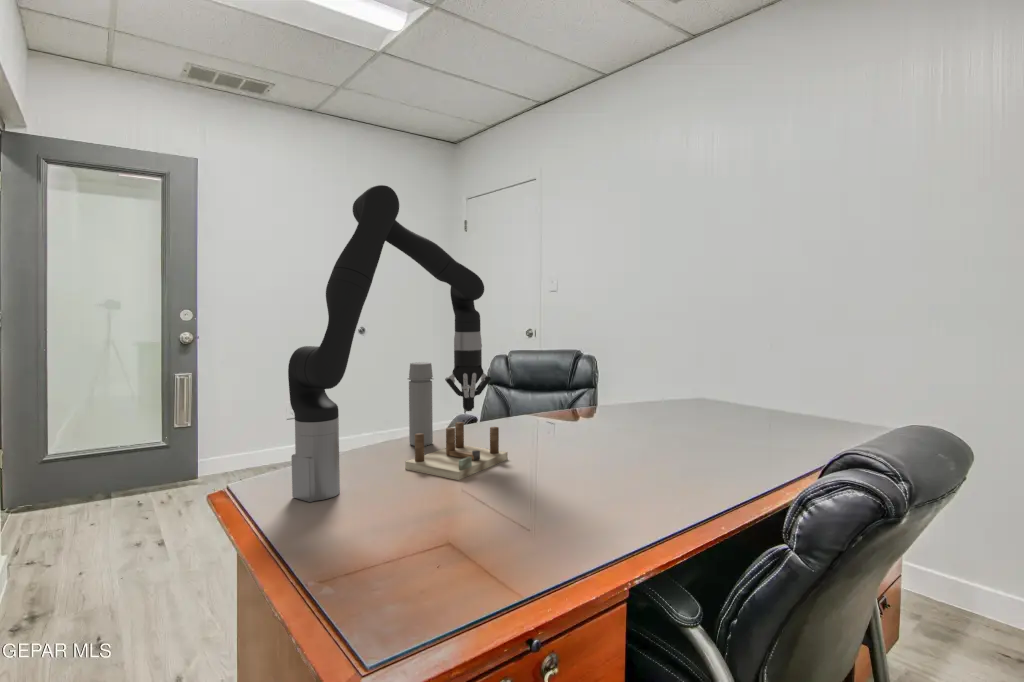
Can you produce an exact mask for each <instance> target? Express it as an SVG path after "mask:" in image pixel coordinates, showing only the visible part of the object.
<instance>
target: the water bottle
mask: <svg viewBox="0 0 1024 682" xmlns="http://www.w3.org/2000/svg"><path fill="white" fill-rule="evenodd" d="M433 377H434V376H433V367H432V363H431V362H429V361H426V362H425V361H421V362H420V361H419V362H410V363H409V371H408V378H407V380H408V410H409V411H408V413H409V415H408V418H409V419H408V422H409V423H408V425H409V430H408V431H409V444H410V445H411V446H414V447H415V434H417V433H423V434H424V447H427V445H428V446H430V445H431V444H432V443H433V440H434V439H433V437H434V436H433V433H434V432H433V380H434V378H433Z"/></svg>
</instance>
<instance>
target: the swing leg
mask: <svg viewBox="0 0 1024 682" xmlns="http://www.w3.org/2000/svg"><path fill="white" fill-rule="evenodd" d="M445 448H446V455H450V456H455V457H461V458H466V457H472V460H479V459H480V451H478V450H474V451H472V452H467V451H462V450H456V449H455V427H446V428H445Z"/></svg>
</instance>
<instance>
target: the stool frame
mask: <svg viewBox="0 0 1024 682" xmlns="http://www.w3.org/2000/svg"><path fill="white" fill-rule="evenodd" d="M454 423H455V427H454V428H455V449H456V450H462V451H467V452H472V451H474V450H478V451H480V459H479V460H472V457H466V458H461V457H455V456H450V455H446V447H444V448H442V449H441V448H440V449H439V450H436V451H432V452H429V453H427V454H425V446H424V434H423V433H417V434H415V446H414V458H412V459H409V460H406V461H404V462H405V467H404V469H405V470H408V471H413V472H418V473H422V474H428V475H431V476H437V477H442V478H446V479H451V480H457V481H460V480H463V479H465V478H467V477H470V476H472V475H474V474H476V473H479V472H481V471H483V470H486V469H488V468H490V467H493V466H495V465H498V464H500V463H503V462H505V461H507V460H508V458H509V457H508V454H509V453H508V451H502V450H500V449H499V447H500V446H499V445H500V444H499V443H500V441H499V437H500V436H499V433H500V431H499V428H500V427H499V426H491V427H489V448H484V447H478V446H471V445H467V444H465V440H464V439H465V427H464V425H465V422H464V421H457V422H454Z"/></svg>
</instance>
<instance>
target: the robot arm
mask: <svg viewBox="0 0 1024 682" xmlns="http://www.w3.org/2000/svg"><path fill="white" fill-rule="evenodd" d="M399 212H400V201H399V197H398V195H397V193H396V191H395V190H394V189H393V188H392V187H390V186H388V185H386V184H377V185H373V186H370V187H369V188H367V189H366V190H365V191H364V192H362V194H360V195H359V196H358V197H357V198H356V199H355V200H354V201H353V204H352V215H353V217H354V219H355V221H356V222H357V226H356V228H355V230H354V232H353V234H352V236H351V238H350V239H349V241H347V244H345V247H343V250H342V252H340V254H339V256H338V258H337V260H336V261H335V264H334V265H333V268H332V270H331V273H330V276H329V279H328V281H327V285H326V288H325V301H326V307H327V315H328V321H327V322H328V323H327V326H326V331H325V333H324V336H323V338H322V341H321V343H320V345H319V346H315V345H313V346H312V345H305V346H300V347H299V348H296V349H295V350H294V351H293V353H292V354H291V355H290V358H289V361H288V368H287V376H288V391H289V402H290V403H289V404H290V407H291V410H292V411H293V413H294V439H295V440H294V444H295V446H294V447H295V449H294V451H295V452H294V454H291V490H292V492H291V493H292V498H294V499H297V500H301V501H305V502H308V503H312V502H314V501H322V500H328V499H331V498H334V497H336V496H338V495H340V492H341V480H340V478H341V477H340V475H341V474H340V472H341V471H340V427H339V425H340V423H339V421H340V420H339V406H338V404H337V403H336V402H334V401H333V400H332V399H330V397H329V396H328V394H327V392H326V390H329V389H333V388H335V387H337V386H338V385H339V384H340V382H341V381H342V380H343V378H344V376H345V373H346V370H347V366H348V362H349V359H350V355H351V351H352V345H353V341H354V338H355V337H354V336H355V333H356V330H357V327H358V324H359V320H360V317H361V314H362V310H363V308H364V305H365V302H366V300H367V297H368V295H369V293H370V289H371V286H372V283H373V280H374V276H375V273H376V270H377V267H378V264H379V261H380V258H381V254H382V251H383V248H384V245H385V242H386V243H388V244H389V245H391V246H393V247H395V248H396V249H398V250H399V251H401V252H402V253H403V254H405V255H406V256H408V257H409V258H411V259H412V260H413V261H415V262H416V263H417V264H418V265H420V266H421V267H422V268H423V269H424V270H425V271H426V272H428V273H429V274H430V275H431V276H433V277H434V278H435V279H437V280H438V281H439V282H442V283H446V284H447V285H449V286H450V291H449V292H450V299H451V306H452V310H453V314H454V336H453V361H454V362H453V364H454V365H453V370H452V371H451V372H452V373H451V374H450V375H449V376H448V377H446V378H444V379H445V382H446V384H448V386H449V387H450V388H451V389H452V390H453V392H454V394H456V395H457V396H458V397H462V407H463V409H464V411H465V412H472V411H473V410H474V409H475V398H476V396H479V395H481V394H482V393H483V391H484V390H485V388H486V387H487V386H488V384H489V383H490V381H491V380H492V379H491V376H489V375H487V374H485V372H484V369H483V367H482V365H483V364H482V361H483V359H482V355H483V353H482V350H483V349H482V347H483V345H482V334H481V333H482V331H481V314H480V312H479V311H478V310H476V308H475V307H476V306H475V301H477V300H479V299H480V298H481V297H483V295H484V292H485V285H484V281H483V280H482V279H481V277H479V275H478V274H477V273H475V272H474V271H472V270H471V269H469V268H468V267H467V266H465V265H463V264H461V263H459V262H458V261H457V260H455V259H454V258H453V257H452V256H451V255H450V254H449V253H448V252H447V251H445V250H444V249H443V248H442V247H441V246H439V245H438V244H437V243H436V242H434V241H433V240H430V239H429V238H426V237H425V236H422V235H421V234H418V233H416V232H413V231H411V230H410V229H409V228H407V227H405V226H403V225H402V224H401V223H400V222H399V221H397V217H398V215H399ZM479 380H480V382H479ZM456 381H457V382H458V383H459V385H460V388H461V389H460V388H458V386H457V384H455V383H456ZM478 382H479V384H478ZM477 384H478V385H477ZM476 385H477V386H476Z"/></svg>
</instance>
